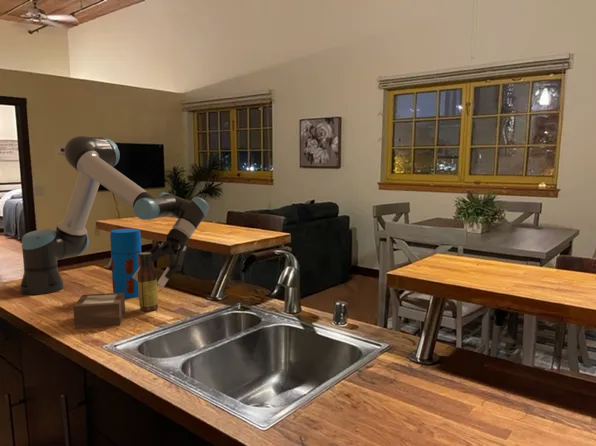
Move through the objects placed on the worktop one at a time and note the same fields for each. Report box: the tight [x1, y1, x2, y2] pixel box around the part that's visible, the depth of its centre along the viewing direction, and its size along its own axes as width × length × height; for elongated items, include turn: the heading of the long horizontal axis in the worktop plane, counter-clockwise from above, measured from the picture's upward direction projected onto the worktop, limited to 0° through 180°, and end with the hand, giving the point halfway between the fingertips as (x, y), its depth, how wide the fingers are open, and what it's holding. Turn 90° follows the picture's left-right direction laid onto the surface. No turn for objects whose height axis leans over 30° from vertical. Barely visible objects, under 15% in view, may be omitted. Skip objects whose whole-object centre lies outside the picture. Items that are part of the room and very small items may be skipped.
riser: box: [72, 292, 126, 330], centre depth 146 cm, size 13×13×7 cm
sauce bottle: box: [138, 251, 159, 312], centre depth 157 cm, size 7×6×20 cm
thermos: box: [109, 228, 142, 300], centre depth 174 cm, size 11×11×25 cm
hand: (147, 282), depth 156 cm, fingers open, 13 cm apart
